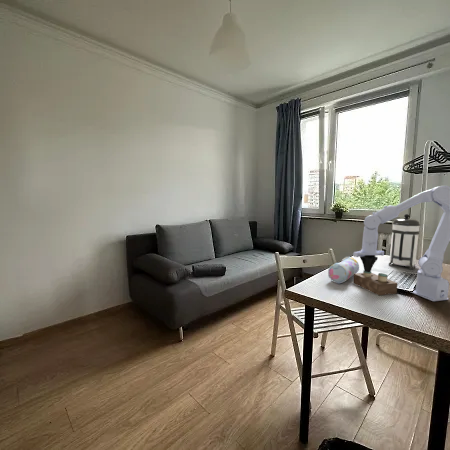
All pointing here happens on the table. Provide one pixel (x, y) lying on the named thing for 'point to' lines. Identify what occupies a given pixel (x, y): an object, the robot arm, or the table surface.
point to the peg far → (367, 274)
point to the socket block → (375, 284)
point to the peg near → (382, 278)
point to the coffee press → (404, 242)
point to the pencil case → (343, 270)
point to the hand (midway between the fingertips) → (367, 271)
